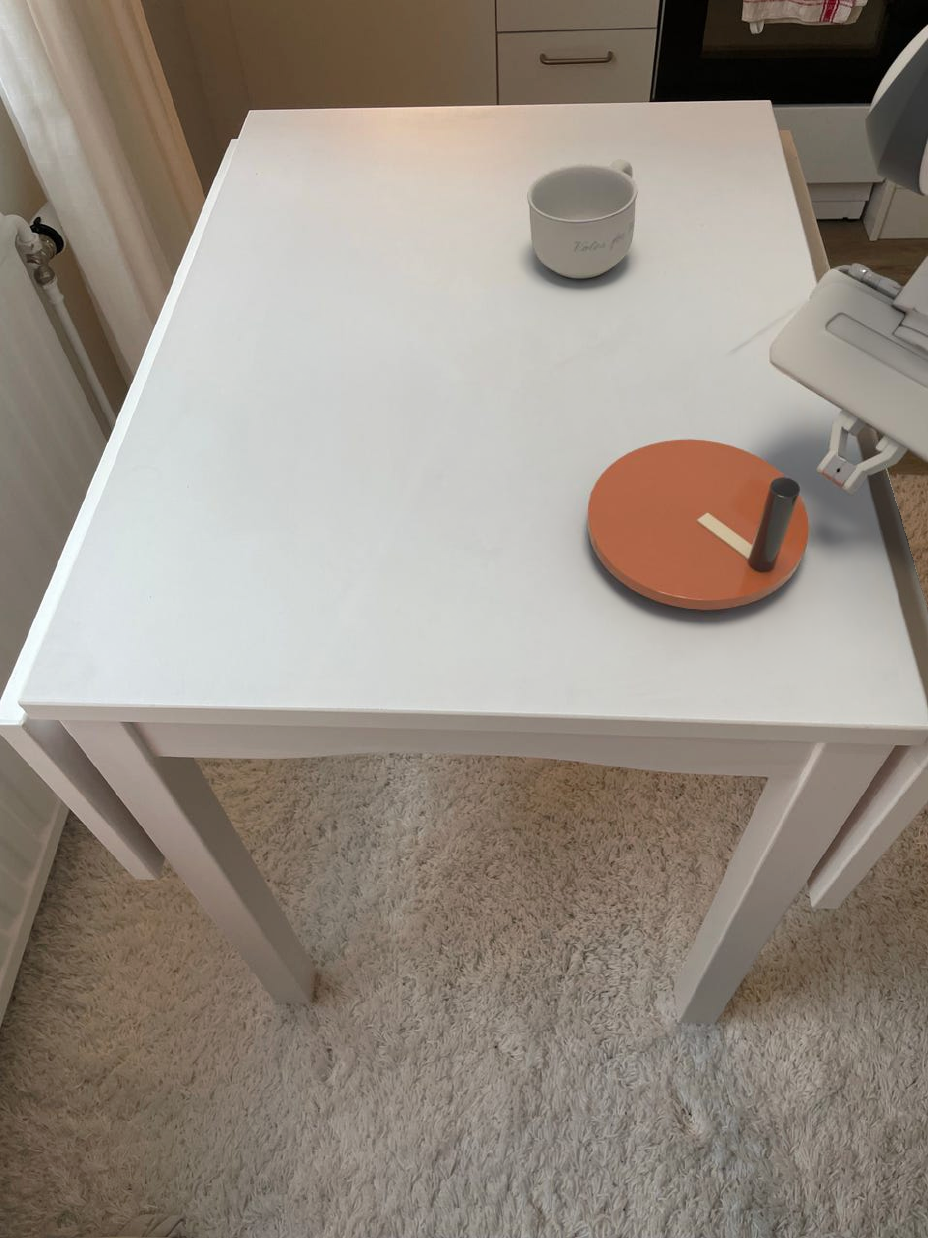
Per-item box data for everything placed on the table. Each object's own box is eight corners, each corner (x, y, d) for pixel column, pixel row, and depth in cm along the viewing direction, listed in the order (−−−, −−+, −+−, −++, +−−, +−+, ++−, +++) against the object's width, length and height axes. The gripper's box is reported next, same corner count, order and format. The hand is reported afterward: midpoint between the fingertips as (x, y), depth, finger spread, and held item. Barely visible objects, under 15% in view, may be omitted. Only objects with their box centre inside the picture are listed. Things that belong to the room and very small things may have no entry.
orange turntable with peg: (818, 472, 78) (849, 383, 71) (789, 633, 69) (821, 551, 62) (615, 433, 82) (624, 345, 75) (562, 580, 73) (566, 496, 66)
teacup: (579, 305, 96) (583, 231, 89) (505, 261, 101) (504, 189, 94) (672, 248, 101) (682, 174, 94) (597, 209, 106) (602, 137, 99)
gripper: (828, 237, 69) (713, 402, 73) (1096, 374, 59) (944, 556, 63) (850, 267, 74) (741, 420, 79) (1100, 398, 64) (959, 565, 69)
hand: (833, 482), depth 71 cm, fingers closed
